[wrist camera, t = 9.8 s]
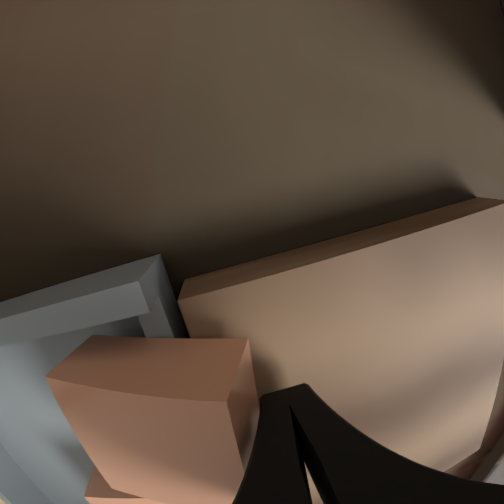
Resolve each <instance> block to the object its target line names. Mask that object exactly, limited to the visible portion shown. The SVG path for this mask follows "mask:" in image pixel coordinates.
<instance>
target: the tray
mask: <svg viewBox="0 0 504 504" xmlns="http://www.w3.org/2000/svg"><path fill="white" fill-rule="evenodd" d="M91 335H107V336H124V337H146V338H189V339H190V337H189V335H188V332H187V329H186V327H185V324H184V321H183V318H182V316H181V313H180V310H179V307H178V304H177V301H176V298H175V295H174V293H173V290H172V287H171V284H170V281H169V278H168V275H167V271H166V268H165V265H164V262H163V259H162V256H161V254H158V255H155V256H151V257H148V258H144V259H141V260H137V261H134V262H130V263H127V264H124V265H120V266H117V267H113V268H110V269H107V270H103V271H100V272H96V273H93V274H90V275H86V276H83V277H80V278H77V279H73V280H70V281H67V282H63V283H60V284H57V285H54V286H50V287H47V288H44V289H41V290H38V291H34V292H31V293H28V294H25V295H22V296H18V297H15V298H12V299H9V300H6V301H3V302H0V498H1V499H2V500H3V501H4V502H5V503H6V504H90V503H89V502H88V501H87V500H86V499H85V498H84V494H85V491H86V488H87V485H88V482H89V480H90V477H91V474H92V471H93V468H94V465H95V464H94V463H93V461H92V460H91V459H90V457H89V455H88V454H87V452H86V451H85V449H84V448H83V446H82V445H81V443H80V441H79V440H78V438H77V437H76V435H75V433H74V432H73V430H72V428H71V426H70V425H69V423H68V421H67V419H66V418H65V416H64V414H63V412H62V410H61V408H60V407H59V405H58V403H57V401H56V399H55V397H54V395H53V393H52V391H51V389H50V387H49V385H48V383H47V381H46V379H45V376H46V375H47V374H48V373H49V372H50V371H51V370H52V369H54V368H55V367H56V366H57V365H58V364H59V363H60V362H61V361H63V360H64V359H65V358H66V357H67V356H68V355H69V354H70V353H72V352H73V351H74V350H75V349H76V348H77V347H78V346H80V345H81V344H82V343H83V342H84V341H85V340H86V339H88V338H89V337H90V336H91Z"/></svg>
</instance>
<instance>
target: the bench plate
mask: <svg viewBox="0 0 504 504" xmlns="http://www.w3.org/2000/svg"><path fill="white" fill-rule="evenodd" d="M177 301H178V304H179V307H180V310H181V312H182V315H183V318H184V321H185V324H186V326H187V329H188V332H189V335H190V337H191V339H219V338H248V339H249V346H250V353H251V359H252V366H253V372H254V378H255V385H256V391H257V397H258V404H259V410H260V397H261V396H262V395H263V394H267V393H271V392H274V391H278V390H282V389H285V388H289V387H292V386H295V385H299V384H302V383H306V384H308V385H309V386H310V387H311V388H312V389H313V390H314V392H315V393H316V394H317V395H318V396H319V397H320V398H321V399H322V400H323V401H324V402H325V403H326V404H327V405H328V406H330V407H331V408H332V409H333V410H334V411H335V412H336V413H337V414H339V415H340V416H341V417H342V418H344V419H345V420H346V421H347V422H349V423H350V424H351V425H353V426H354V427H355V428H357V429H358V430H359V431H361V432H362V433H364V434H365V435H367V436H368V437H370V438H371V439H373V440H374V441H376V442H378V443H379V444H381V445H383V446H384V447H386V448H388V449H390V450H392V451H394V452H396V453H398V454H399V455H401V456H403V457H406V458H408V459H410V460H412V461H415V462H417V463H419V464H421V465H424V466H427V467H430V468H433V469H436V470H439V471H442V472H444V471H445V470H447V469H449V468H450V467H452V466H454V465H455V464H457V463H459V462H460V461H462V460H463V459H465V458H466V457H468V456H470V455H471V454H473V453H474V452H475V451H477V450H478V449H479V448H480V446H481V443H482V440H483V437H484V434H485V431H486V428H487V425H488V421H489V418H490V415H491V411H492V407H493V404H494V400H495V396H496V392H497V388H498V384H499V379H500V375H501V370H502V365H503V359H504V200H498V199H489V198H480V197H476V198H473V199H470V200H466V201H463V202H459V203H456V204H452V205H449V206H445V207H442V208H438V209H435V210H431V211H428V212H425V213H421V214H418V215H414V216H411V217H407V218H404V219H400V220H397V221H393V222H389V223H386V224H382V225H379V226H375V227H372V228H368V229H365V230H361V231H358V232H354V233H351V234H347V235H343V236H340V237H336V238H333V239H329V240H326V241H322V242H318V243H315V244H311V245H308V246H304V247H300V248H297V249H293V250H290V251H286V252H282V253H279V254H275V255H271V256H268V257H264V258H261V259H257V260H253V261H250V262H246V263H242V264H239V265H235V266H231V267H228V268H224V269H220V270H217V271H213V272H209V273H206V274H202V275H198V276H194V277H191V278H187V279H185V280H184V283H183V286H182V289H181V291H180V294H179V297H178V300H177ZM304 463H305V462H304ZM305 468H306V473H307V478H308V483H309V488H310V493H311V498H312V503H313V504H323V502H322V500H321V497H320V495H319V493H318V491H317V489H316V487H315V485H314V482H313V480H312V478H311V476H310V474H309V471H308V469H307V467H306V465H305Z"/></svg>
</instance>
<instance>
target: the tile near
mask: <svg viewBox="0 0 504 504" xmlns="http://www.w3.org/2000/svg"><path fill="white" fill-rule="evenodd" d="M45 379H46V381H47V383H48V385H49V387H50V389H51V391H52V393H53V395H54V397H55V399H56V401H57V403H58V405H59V407H60V408H61V410H62V412H63V414H64V416H65V418H66V419H67V421H68V423H69V425H70V426H71V428H72V430H73V432H74V433H75V435H76V437H77V438H78V440H79V441H80V443H81V445H82V446H83V448H84V449H85V451H86V452H87V454H88V455H89V457H90V459H91V460H92V461H93V463H94V464H95V466H96V467H97V469H98V470H99V472H100V473H101V474H102V476H103V477H104V479H105V480H106V481H107V483H108V484H109V485H110V487H111V488H112V489H115V490H118V491H121V492H125V493H128V494H132V495H135V496H139V497H142V498H146V499H150V500H154V501H159V502H163V503H167V504H232V503H233V501H234V498H235V496H236V494H237V492H238V489H239V487H240V484H241V482H242V479H243V477H244V474H245V471H246V468H247V465H248V462H249V459H250V455H251V452H252V448H253V444H254V440H255V435H256V431H257V425H258V419H259V411H260V410H259V404H258V397H257V391H256V385H255V378H254V372H253V366H252V359H251V353H250V346H249V339H248V338H219V339H189V338H146V337H124V336H107V335H91V336H90V337H89V338H88V339H86V340H85V341H84V342H83V343H82V344H81V345H80V346H78V347H77V348H76V349H75V350H74V351H73V352H72V353H70V354H69V355H68V356H67V357H66V358H65V359H64V360H63V361H61V362H60V363H59V364H58V365H57V366H56V367H55V368H54V369H52V370H51V371H50V372H49V373H48V374H47V375H46V376H45Z"/></svg>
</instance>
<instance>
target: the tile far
mask: <svg viewBox="0 0 504 504" xmlns="http://www.w3.org/2000/svg"><path fill="white" fill-rule="evenodd" d="M84 498H85V499H86V500H87V501H88V502H89V503H90V504H167V503H163V502H159V501H154V500H150V499H146V498H142V497H139V496H135V495H132V494H128V493H125V492H121V491H118V490H115V489H112V488H111V487H110V485H109V484H108V483H107V481H106V480H105V479H104V477H103V476H102V474H101V473H100V472H99V470H98V469H97V467H96V466H95V465H94V468H93V471H92V474H91V477H90V480H89V482H88V485H87V488H86V491H85V494H84Z"/></svg>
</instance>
